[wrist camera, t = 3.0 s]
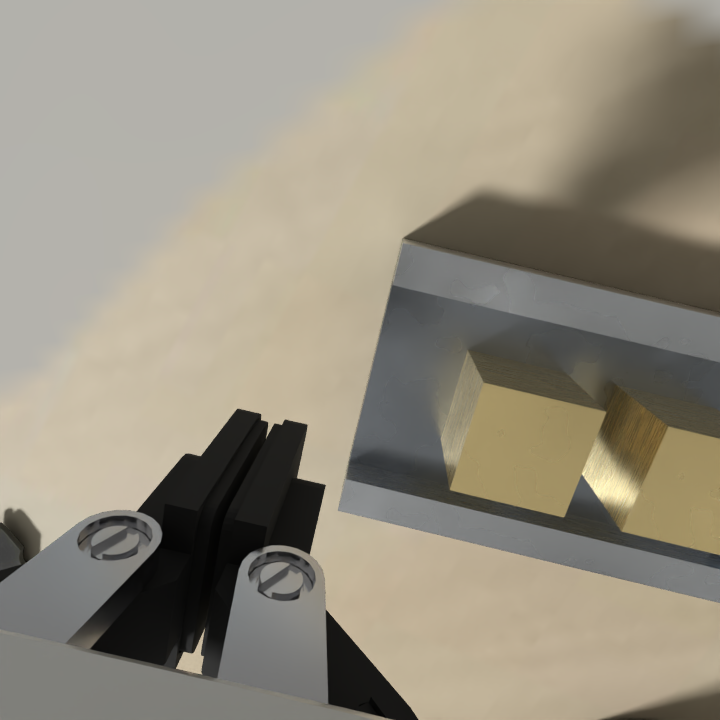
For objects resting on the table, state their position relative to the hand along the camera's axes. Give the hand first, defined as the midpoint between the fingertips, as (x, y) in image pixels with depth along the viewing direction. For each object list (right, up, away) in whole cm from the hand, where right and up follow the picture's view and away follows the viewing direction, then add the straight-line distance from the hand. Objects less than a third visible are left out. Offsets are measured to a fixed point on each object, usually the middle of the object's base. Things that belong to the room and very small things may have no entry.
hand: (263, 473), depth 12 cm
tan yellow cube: (+14, -1, +9) cm, 16 cm away
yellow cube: (+8, +1, +9) cm, 12 cm away
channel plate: (+11, +1, +10) cm, 15 cm away
